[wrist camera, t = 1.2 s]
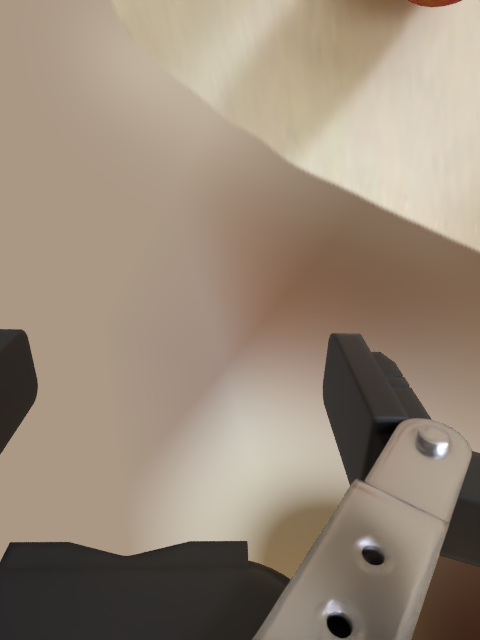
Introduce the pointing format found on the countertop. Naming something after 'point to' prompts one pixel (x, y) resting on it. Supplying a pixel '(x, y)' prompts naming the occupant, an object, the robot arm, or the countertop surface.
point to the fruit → (434, 2)
